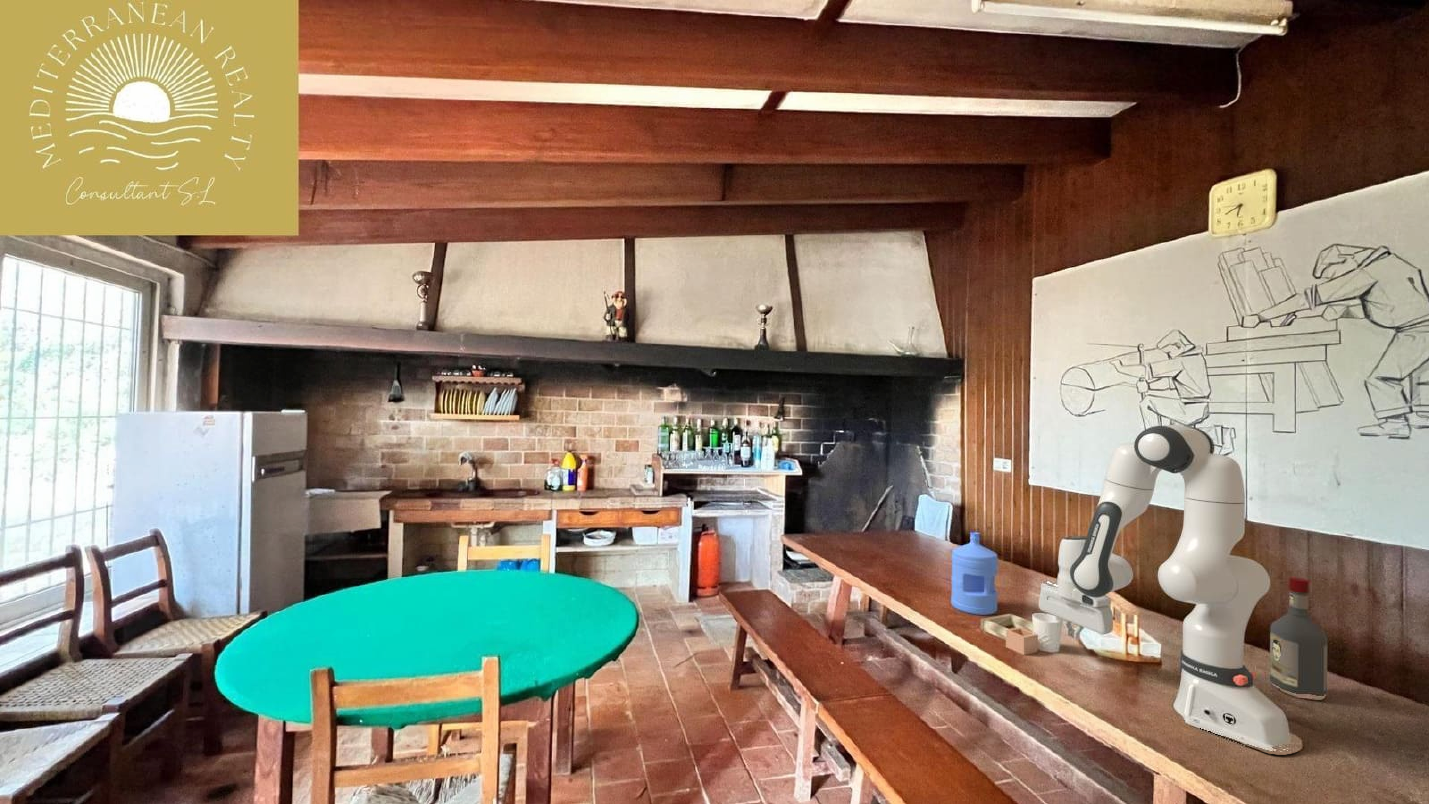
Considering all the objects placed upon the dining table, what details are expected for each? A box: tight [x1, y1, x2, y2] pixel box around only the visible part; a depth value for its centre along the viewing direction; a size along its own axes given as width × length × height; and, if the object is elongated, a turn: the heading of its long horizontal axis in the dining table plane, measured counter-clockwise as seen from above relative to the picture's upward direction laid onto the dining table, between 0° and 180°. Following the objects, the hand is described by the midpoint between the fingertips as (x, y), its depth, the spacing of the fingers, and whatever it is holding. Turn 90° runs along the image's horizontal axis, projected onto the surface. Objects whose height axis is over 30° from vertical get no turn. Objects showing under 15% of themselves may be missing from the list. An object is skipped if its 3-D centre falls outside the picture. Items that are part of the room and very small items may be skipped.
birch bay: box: [980, 613, 1033, 641], centre depth 184 cm, size 13×14×4 cm
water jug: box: [950, 531, 999, 616], centre depth 209 cm, size 16×16×28 cm
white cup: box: [1031, 612, 1063, 653], centre depth 173 cm, size 8×8×10 cm
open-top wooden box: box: [1005, 627, 1039, 656], centre depth 171 cm, size 6×6×6 cm
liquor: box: [1269, 576, 1328, 696], centre depth 149 cm, size 9×9×30 cm
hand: (1072, 636), depth 165 cm, fingers closed
